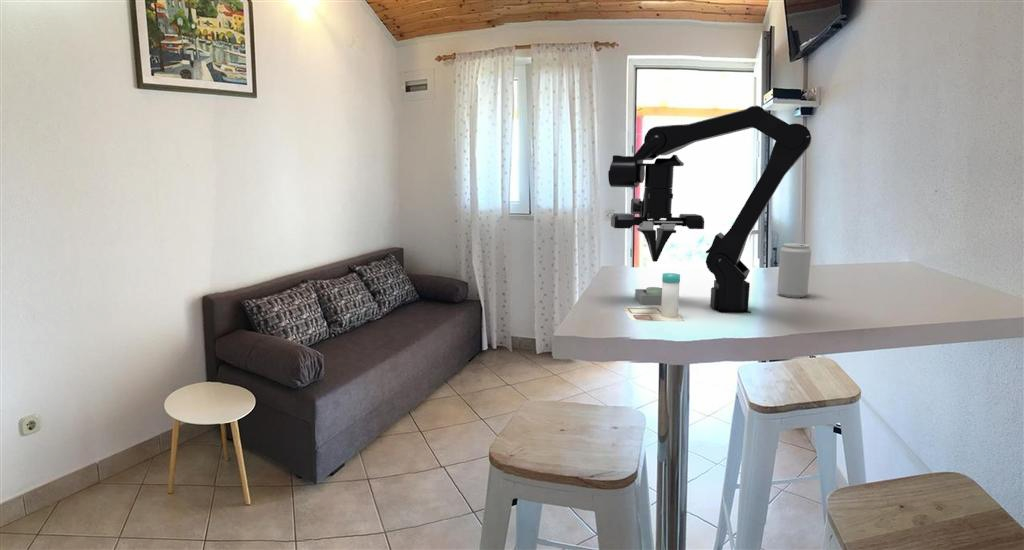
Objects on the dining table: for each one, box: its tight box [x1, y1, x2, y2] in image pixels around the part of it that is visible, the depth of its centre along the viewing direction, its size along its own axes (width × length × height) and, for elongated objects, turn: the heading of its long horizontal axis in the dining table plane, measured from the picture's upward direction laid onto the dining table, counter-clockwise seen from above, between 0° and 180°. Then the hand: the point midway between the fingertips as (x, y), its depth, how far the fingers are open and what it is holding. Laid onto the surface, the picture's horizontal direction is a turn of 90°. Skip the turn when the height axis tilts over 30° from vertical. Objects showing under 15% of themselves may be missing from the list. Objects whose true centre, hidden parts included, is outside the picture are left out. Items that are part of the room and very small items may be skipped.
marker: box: [660, 272, 681, 318], centre depth 117 cm, size 3×3×8 cm
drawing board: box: [621, 305, 686, 322], centre depth 120 cm, size 12×14×1 cm
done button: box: [645, 286, 662, 294], centre depth 130 cm, size 4×4×2 cm
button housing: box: [634, 288, 662, 306], centre depth 130 cm, size 7×7×2 cm
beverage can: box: [776, 242, 812, 299], centre depth 138 cm, size 6×6×12 cm
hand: (654, 261), depth 129 cm, fingers closed
